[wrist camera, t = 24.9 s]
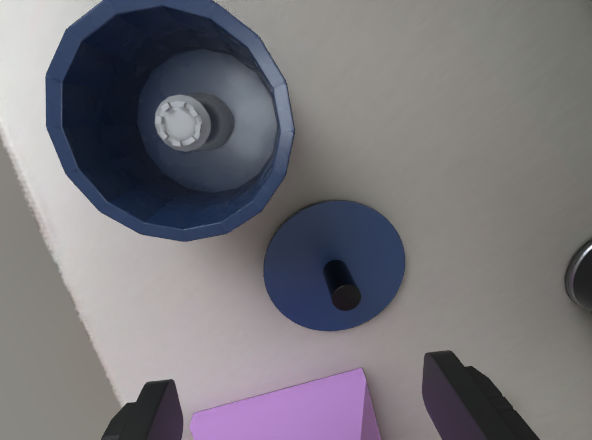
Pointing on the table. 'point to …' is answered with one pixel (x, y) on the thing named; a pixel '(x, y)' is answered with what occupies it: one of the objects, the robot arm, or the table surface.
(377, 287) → the lid
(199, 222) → the pot
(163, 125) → the rook chess piece
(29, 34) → the table surface
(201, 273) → the table surface
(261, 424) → the purple table lamp
